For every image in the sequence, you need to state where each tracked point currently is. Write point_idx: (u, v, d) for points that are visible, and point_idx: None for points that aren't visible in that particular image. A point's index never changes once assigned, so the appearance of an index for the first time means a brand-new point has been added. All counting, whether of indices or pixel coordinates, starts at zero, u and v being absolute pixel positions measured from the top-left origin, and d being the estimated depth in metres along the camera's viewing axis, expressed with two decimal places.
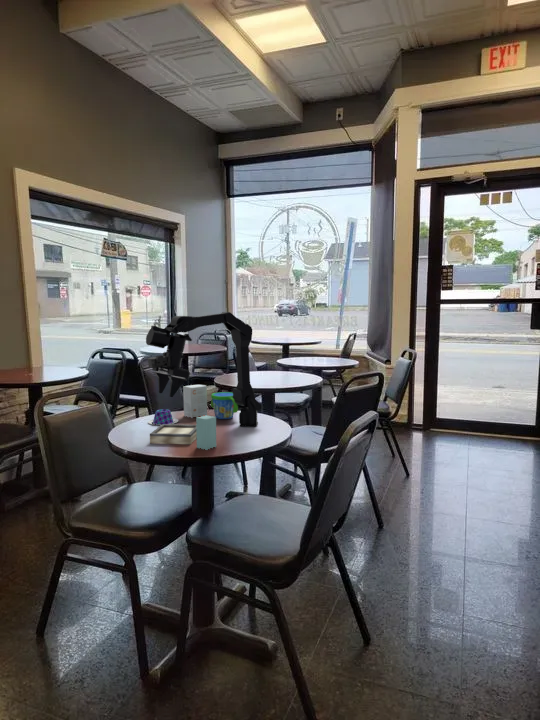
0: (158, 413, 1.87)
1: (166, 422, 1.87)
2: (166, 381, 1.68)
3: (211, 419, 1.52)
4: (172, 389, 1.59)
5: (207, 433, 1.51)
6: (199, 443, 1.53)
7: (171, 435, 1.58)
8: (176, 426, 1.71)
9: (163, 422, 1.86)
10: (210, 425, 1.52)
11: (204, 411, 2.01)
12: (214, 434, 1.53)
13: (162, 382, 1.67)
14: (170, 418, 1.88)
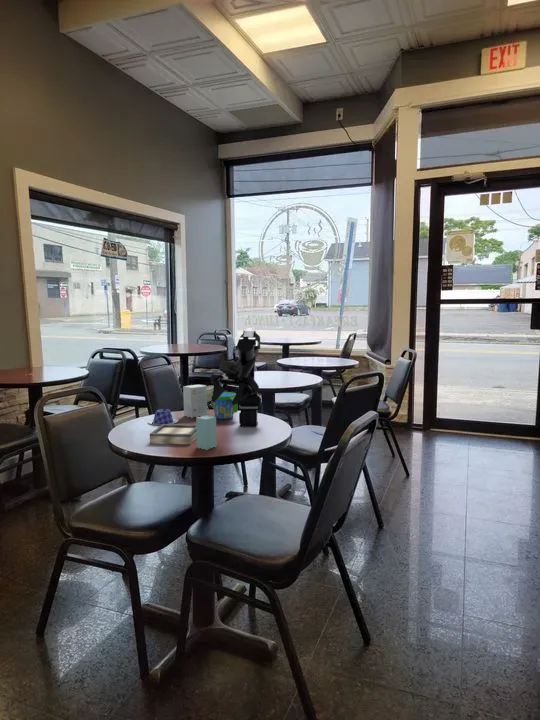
0: (158, 413, 1.87)
1: (166, 422, 1.87)
2: (219, 393, 1.65)
3: (211, 419, 1.52)
4: (237, 397, 1.57)
5: (207, 433, 1.51)
6: (199, 443, 1.53)
7: (171, 435, 1.58)
8: (176, 426, 1.71)
9: (163, 422, 1.86)
10: (210, 425, 1.52)
11: (204, 411, 2.01)
12: (214, 434, 1.53)
13: (217, 392, 1.64)
14: (170, 418, 1.88)
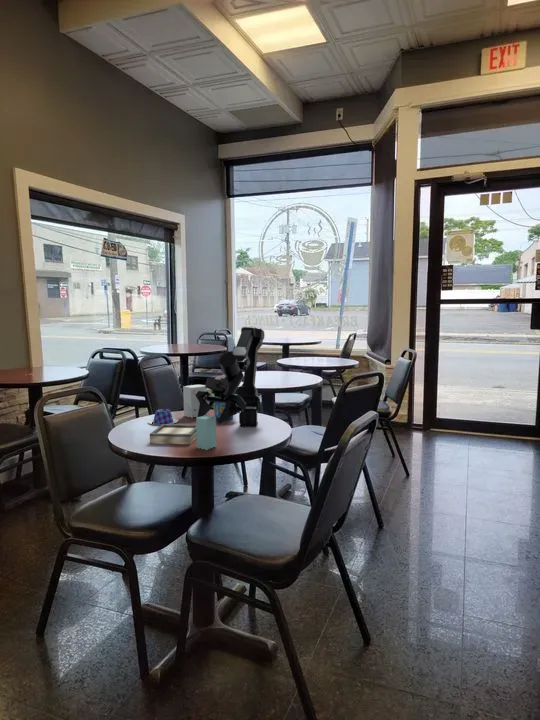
0: (158, 413, 1.87)
1: (165, 422, 1.87)
2: (205, 411, 1.60)
3: (211, 419, 1.52)
4: (224, 416, 1.52)
5: (207, 433, 1.51)
6: (199, 443, 1.53)
7: (171, 435, 1.58)
8: (176, 426, 1.71)
9: (162, 422, 1.86)
10: (210, 425, 1.52)
11: None
12: (214, 434, 1.53)
13: (203, 410, 1.59)
14: (170, 418, 1.88)
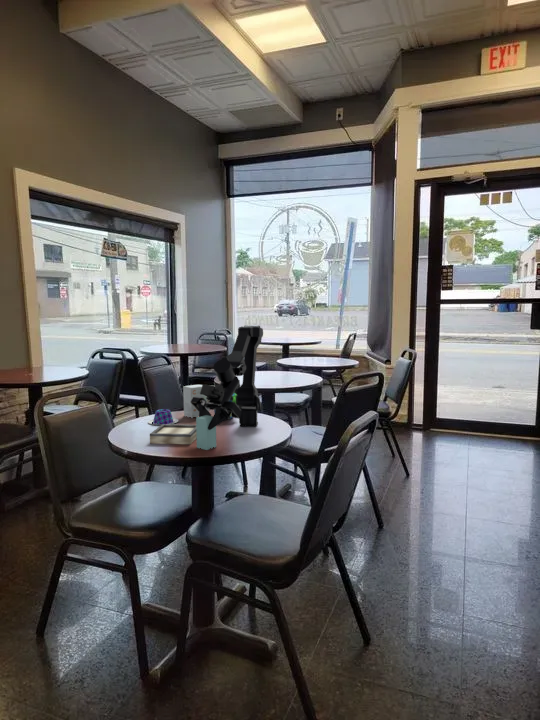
0: (158, 413, 1.87)
1: (165, 422, 1.86)
2: None
3: (211, 419, 1.52)
4: (213, 422, 1.51)
5: (207, 433, 1.51)
6: (199, 443, 1.53)
7: (171, 435, 1.58)
8: (176, 426, 1.71)
9: (162, 422, 1.86)
10: None
11: None
12: (214, 434, 1.53)
13: None
14: (170, 418, 1.88)
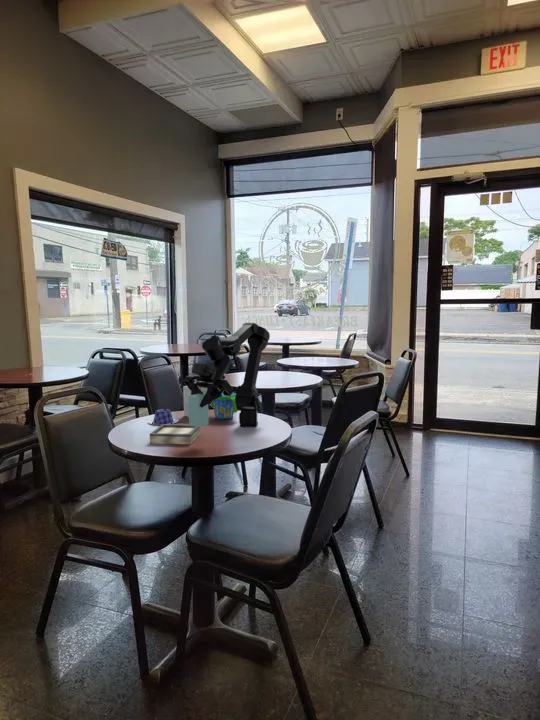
0: (157, 413, 1.87)
1: (165, 422, 1.86)
2: None
3: (203, 397, 1.54)
4: (205, 399, 1.53)
5: (199, 410, 1.53)
6: (191, 420, 1.55)
7: (171, 435, 1.58)
8: (176, 426, 1.71)
9: (162, 422, 1.86)
10: None
11: None
12: (206, 412, 1.56)
13: None
14: (169, 418, 1.88)
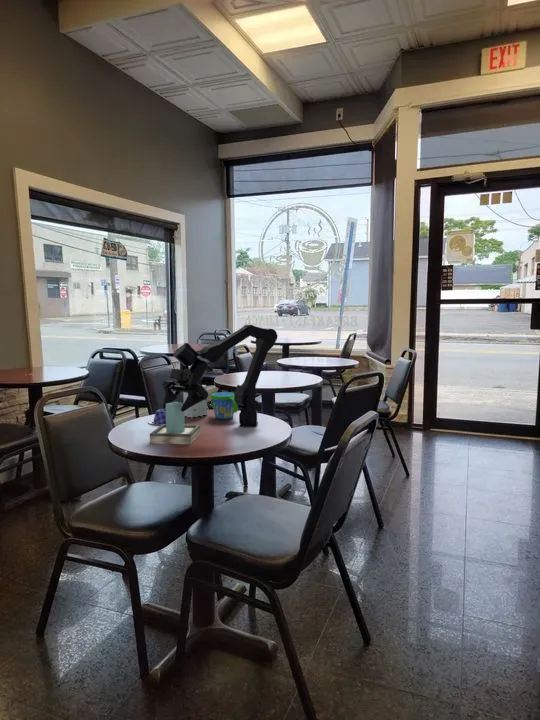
0: (157, 413, 1.87)
1: (164, 422, 1.86)
2: (171, 400, 1.69)
3: (179, 405, 1.63)
4: (186, 404, 1.61)
5: (175, 417, 1.61)
6: (168, 427, 1.63)
7: (171, 435, 1.58)
8: None
9: (161, 422, 1.86)
10: (178, 410, 1.62)
11: (204, 411, 2.01)
12: (182, 419, 1.64)
13: (169, 399, 1.68)
14: None
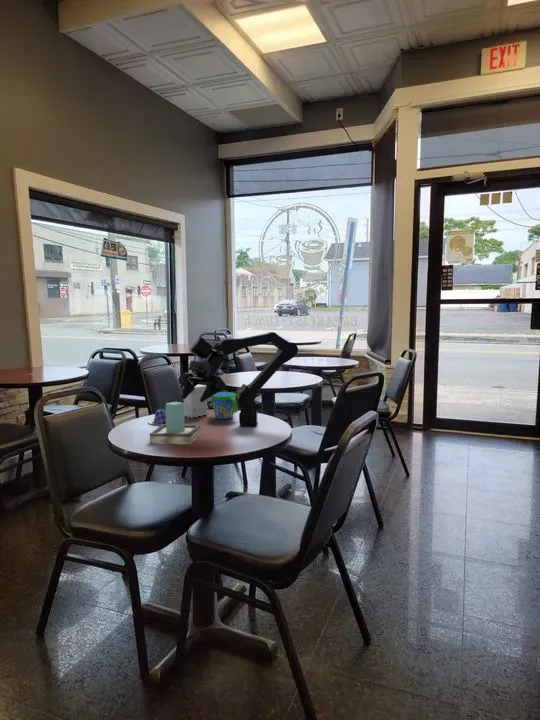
0: (157, 413, 1.88)
1: (164, 422, 1.86)
2: (189, 391, 1.76)
3: (179, 405, 1.63)
4: (205, 395, 1.68)
5: (175, 417, 1.61)
6: (168, 427, 1.63)
7: (171, 435, 1.58)
8: None
9: (161, 422, 1.86)
10: (178, 410, 1.62)
11: (204, 411, 2.01)
12: (182, 419, 1.64)
13: (187, 390, 1.74)
14: None
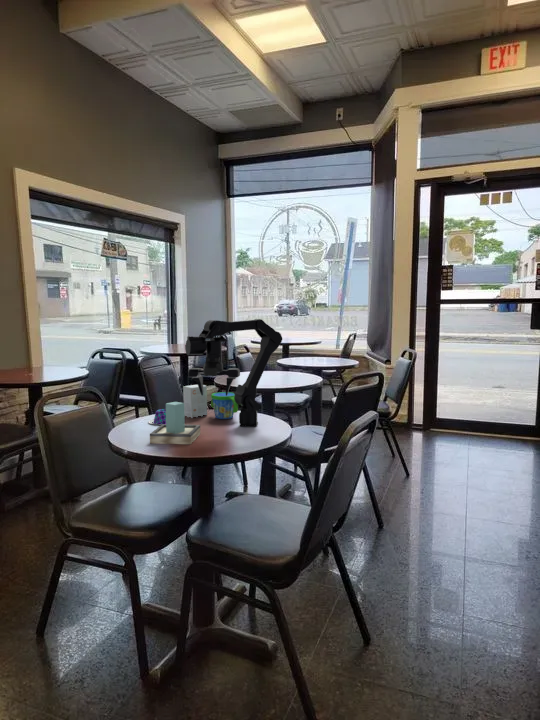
0: (157, 413, 1.88)
1: (163, 422, 1.86)
2: (202, 383, 1.78)
3: (179, 405, 1.63)
4: (228, 388, 1.76)
5: (175, 417, 1.61)
6: (168, 427, 1.63)
7: (171, 435, 1.58)
8: None
9: (160, 422, 1.86)
10: (178, 410, 1.62)
11: (204, 411, 2.01)
12: (182, 419, 1.64)
13: (201, 385, 1.77)
14: None
